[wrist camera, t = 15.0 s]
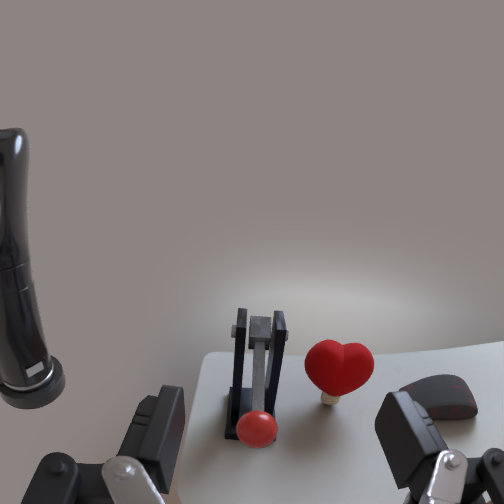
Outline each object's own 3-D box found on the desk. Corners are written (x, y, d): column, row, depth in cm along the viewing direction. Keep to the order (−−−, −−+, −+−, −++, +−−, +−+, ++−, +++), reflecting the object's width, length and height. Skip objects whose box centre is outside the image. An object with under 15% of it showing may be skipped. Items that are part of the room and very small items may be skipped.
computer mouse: (478, 422, 29) (490, 402, 28) (402, 422, 33) (413, 402, 32) (465, 391, 37) (474, 372, 36) (397, 388, 40) (405, 369, 39)
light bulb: (293, 414, 35) (306, 355, 33) (299, 384, 42) (310, 327, 40) (360, 422, 34) (383, 364, 31) (358, 391, 40) (375, 336, 38)
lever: (274, 452, 23) (280, 442, 20) (234, 451, 23) (235, 441, 20) (274, 333, 34) (278, 313, 32) (242, 331, 34) (244, 311, 32)
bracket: (275, 441, 31) (294, 342, 27) (224, 439, 31) (229, 338, 27) (271, 395, 39) (285, 302, 36) (229, 392, 39) (235, 299, 35)
